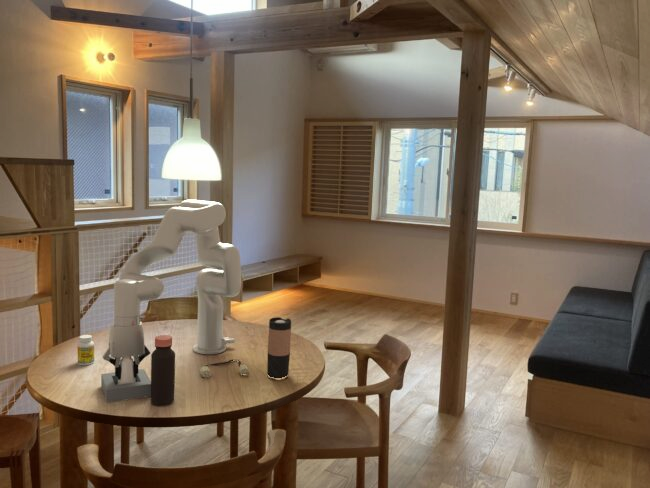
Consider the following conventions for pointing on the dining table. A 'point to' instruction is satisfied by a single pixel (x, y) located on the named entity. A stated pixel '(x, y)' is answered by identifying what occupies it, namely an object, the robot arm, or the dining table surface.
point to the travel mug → (278, 347)
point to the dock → (125, 387)
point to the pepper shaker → (127, 371)
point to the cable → (206, 372)
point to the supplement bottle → (85, 350)
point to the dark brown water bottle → (162, 371)
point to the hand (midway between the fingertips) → (126, 376)
